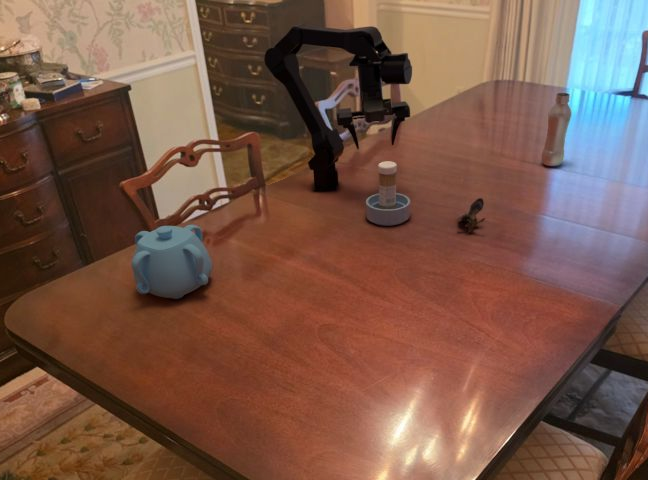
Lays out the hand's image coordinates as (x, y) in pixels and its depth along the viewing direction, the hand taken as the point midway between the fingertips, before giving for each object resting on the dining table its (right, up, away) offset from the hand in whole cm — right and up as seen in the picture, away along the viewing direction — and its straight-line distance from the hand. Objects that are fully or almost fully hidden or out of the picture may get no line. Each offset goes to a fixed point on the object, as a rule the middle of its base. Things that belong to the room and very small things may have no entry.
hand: (375, 147), depth 164 cm
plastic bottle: (+54, +2, +21) cm, 58 cm away
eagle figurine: (+23, -23, -10) cm, 35 cm away
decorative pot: (-45, -40, -28) cm, 66 cm away
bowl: (+3, -20, -4) cm, 20 cm away
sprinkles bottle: (+3, -19, -4) cm, 20 cm away
